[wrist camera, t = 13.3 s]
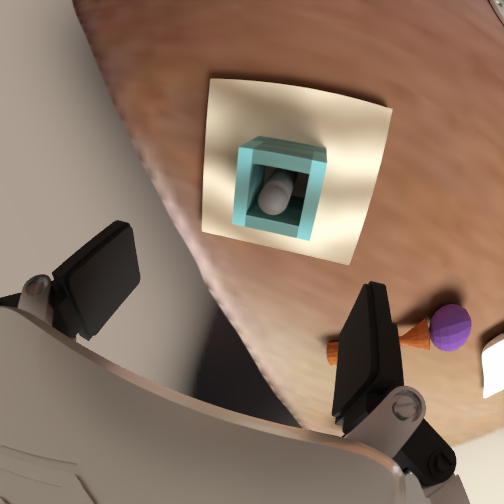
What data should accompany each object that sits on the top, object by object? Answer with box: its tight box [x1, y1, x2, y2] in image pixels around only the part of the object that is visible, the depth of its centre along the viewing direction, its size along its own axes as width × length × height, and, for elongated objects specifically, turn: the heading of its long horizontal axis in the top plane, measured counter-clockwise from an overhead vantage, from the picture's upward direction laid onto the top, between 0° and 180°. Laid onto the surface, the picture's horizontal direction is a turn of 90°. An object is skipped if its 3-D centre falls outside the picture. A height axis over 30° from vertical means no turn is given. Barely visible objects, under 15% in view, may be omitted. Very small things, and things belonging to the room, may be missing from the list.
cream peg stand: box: [202, 79, 392, 265], centre depth 21 cm, size 16×16×10 cm
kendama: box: [327, 304, 471, 365], centre depth 30 cm, size 6×6×20 cm
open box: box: [232, 136, 327, 241], centre depth 21 cm, size 6×6×6 cm
